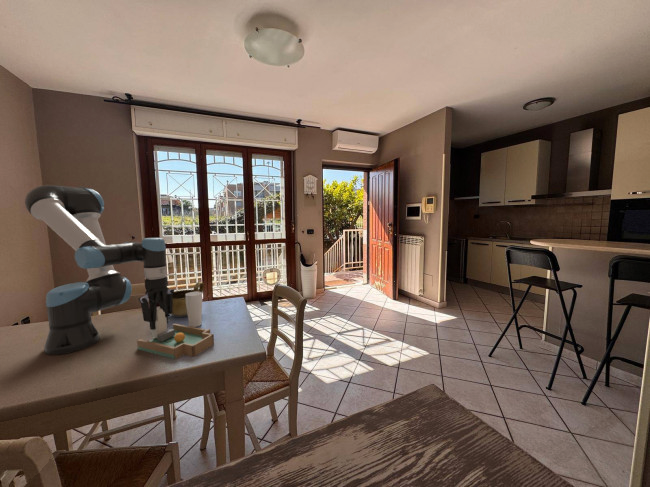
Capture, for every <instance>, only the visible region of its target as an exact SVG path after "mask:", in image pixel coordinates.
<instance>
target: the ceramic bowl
mask: <svg viewBox="0 0 650 487" xmlns="http://www.w3.org/2000/svg"><path fill="white" fill-rule="evenodd" d="M205 287H206V286H205V283H204V282H200V281H198V282H196V283H195V285H194V286H193V289H181V290H174V293H173V312H172V313H171V314H170V316H173V317H175V318H176V317H177V318H185V317H188V315H187V308H186V299H185V295H186V294H187V293H189V292H202V294H203V292H204V289H205ZM165 296H166V295H165Z"/></svg>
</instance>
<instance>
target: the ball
mask: <svg viewBox="0 0 650 487" xmlns="http://www.w3.org/2000/svg"><path fill="white" fill-rule="evenodd" d="M174 339H175V341H176V342H182V341H183V340H184V339H185V335H184V334H183V333H177V334H176V335H175V337H174Z"/></svg>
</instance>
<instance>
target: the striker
mask: <svg viewBox="0 0 650 487" xmlns="http://www.w3.org/2000/svg"><path fill="white" fill-rule="evenodd" d="M156 321H158V329H159V335H157V337H153V339H154V338H158V341H160V342H162V341H164V340H166V339H168V338H170V337H172V336H174V335H175V329H173V328H170V329H167V331H166V322H165V312H163V309H161V308H160V307H158V308H157V311H156Z"/></svg>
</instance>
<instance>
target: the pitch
mask: <svg viewBox="0 0 650 487" xmlns="http://www.w3.org/2000/svg"><path fill="white" fill-rule="evenodd" d="M172 329H175V335H176V334H177V333H183V334H184V335H185V339H184V340H183V341H182V342H176V341H175V339H174V337H175V335H174V336H172V337H170V338H168V339H166V340H164V341H162V342H160V341H158V338H154V337H153V338H152V339H150V340H146V339H141V338H140V339H137V340H136V344H137V346H136V347H137V350H139V351H141V352H142V351H143V352H147V353H151V354H154V355H155V354H156V355H159V356H163V357H167V358H172V359H175V360H177V359H179V358H181V357H182V356H183V355H185V356H189V357H196V356H197V355H199V354H200V353H202V352H204V351H205V350H207V349H209V348H210V347H212V346H214V345H215V339H214V338H215V337H214V335H215V334H214V333H211V329H210V328H208V329H206V328H200V327H190V326H189V325H185V324H184V325H183V324H179V323H173V324H172Z"/></svg>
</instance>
